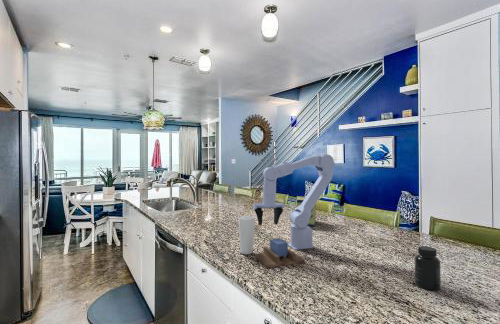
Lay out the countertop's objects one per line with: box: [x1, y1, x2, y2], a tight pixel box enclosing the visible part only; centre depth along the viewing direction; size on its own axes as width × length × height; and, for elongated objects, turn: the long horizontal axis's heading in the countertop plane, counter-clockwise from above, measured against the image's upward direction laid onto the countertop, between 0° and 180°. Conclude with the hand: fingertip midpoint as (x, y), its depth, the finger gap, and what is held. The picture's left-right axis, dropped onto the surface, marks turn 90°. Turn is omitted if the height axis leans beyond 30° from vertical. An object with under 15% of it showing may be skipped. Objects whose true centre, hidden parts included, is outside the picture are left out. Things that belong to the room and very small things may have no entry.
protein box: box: [296, 195, 317, 228], centre depth 164 cm, size 10×16×16 cm
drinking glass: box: [238, 215, 256, 255], centre depth 113 cm, size 7×7×15 cm
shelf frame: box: [254, 246, 306, 269], centre depth 106 cm, size 16×12×4 cm
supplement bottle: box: [414, 245, 442, 291], centre depth 85 cm, size 7×7×12 cm
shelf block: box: [269, 237, 289, 257], centre depth 106 cm, size 6×4×5 cm
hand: (267, 224), depth 120 cm, fingers open, 7 cm apart
